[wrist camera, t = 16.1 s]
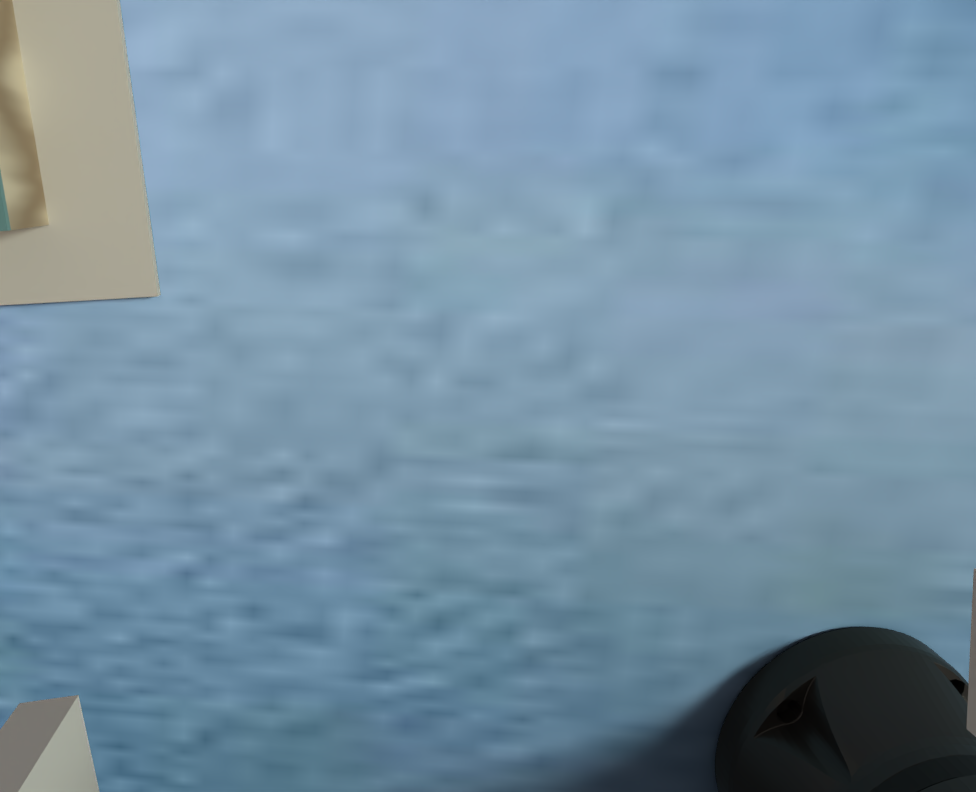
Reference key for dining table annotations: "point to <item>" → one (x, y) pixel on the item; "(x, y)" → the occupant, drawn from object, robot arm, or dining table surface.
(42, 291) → the mat
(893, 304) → the dining table surface
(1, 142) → the green and tan block
